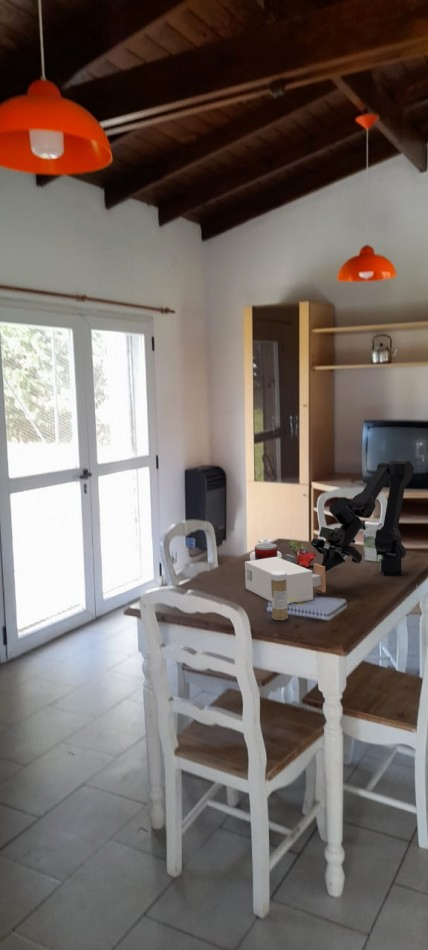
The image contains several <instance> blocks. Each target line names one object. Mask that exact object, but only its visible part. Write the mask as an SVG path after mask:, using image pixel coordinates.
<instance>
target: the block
mask: <svg viewBox="0 0 428 950" xmlns="http://www.w3.org/2000/svg"><path fill="white" fill-rule="evenodd" d="M296 564H297V563H296ZM296 564H294V563H291V562H289V561H286V560H285V558H284V559H283V558H282V559H281V558H279V557H272V558H265V559H259V560H252V561H250V560H247V561H244V570H245V571H244V574H245V576H244V577H245V580H244V581H245V589H247V590H248V591H250V592H252V593H254V594H256V595H258V596H259V597H261V598H263V599H265V600H267V601H269V602H271V603H272V583H271V582H272V581H271V572H273V571H285V572H286V573H287V580H286V585H287V586H286V587H287V599H293V598H300V597H306V596H312V597H307V598H301V599H296V600H291V601H290V602H297V603H301V602H306V601H312V600H314V587H313V575H312V574H313V570H311V569H309V568H304V567H301V566H300V564H298V565H296Z"/></svg>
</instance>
